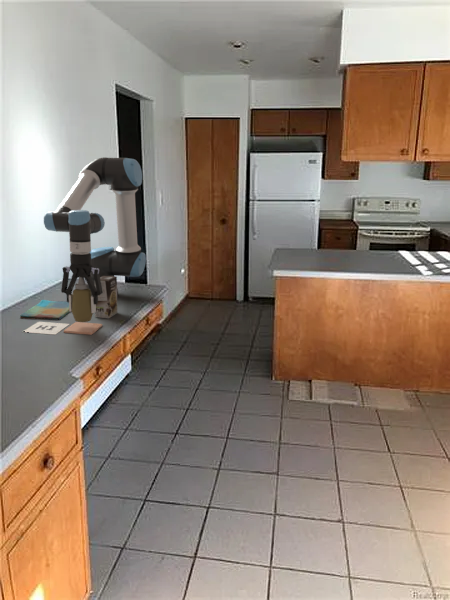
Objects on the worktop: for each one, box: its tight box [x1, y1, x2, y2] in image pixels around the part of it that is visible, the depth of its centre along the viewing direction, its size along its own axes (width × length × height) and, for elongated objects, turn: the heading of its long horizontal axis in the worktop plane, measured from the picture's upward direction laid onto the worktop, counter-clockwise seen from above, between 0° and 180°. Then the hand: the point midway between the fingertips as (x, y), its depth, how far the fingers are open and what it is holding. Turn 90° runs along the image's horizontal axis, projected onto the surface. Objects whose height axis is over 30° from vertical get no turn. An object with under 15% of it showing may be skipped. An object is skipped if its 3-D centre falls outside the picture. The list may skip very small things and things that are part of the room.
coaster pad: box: [63, 321, 103, 335], centre depth 194 cm, size 11×11×1 cm
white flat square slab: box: [23, 321, 70, 336], centre depth 194 cm, size 13×13×1 cm
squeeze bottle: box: [71, 277, 94, 323], centre depth 191 cm, size 8×8×18 cm
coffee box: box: [94, 275, 118, 319], centre depth 211 cm, size 9×6×16 cm
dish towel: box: [19, 299, 70, 321], centre depth 216 cm, size 17×23×2 cm
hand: (82, 311), depth 193 cm, fingers closed on squeeze bottle, 8 cm apart
